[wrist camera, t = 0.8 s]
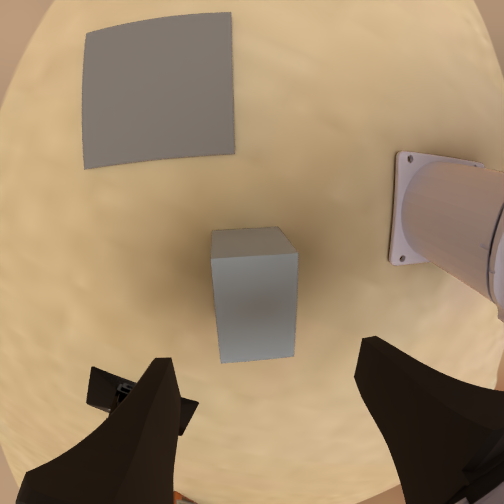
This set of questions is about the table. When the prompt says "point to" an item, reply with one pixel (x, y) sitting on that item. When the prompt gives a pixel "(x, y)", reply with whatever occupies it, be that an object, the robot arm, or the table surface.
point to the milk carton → (181, 499)
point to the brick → (254, 293)
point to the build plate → (124, 395)
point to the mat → (158, 90)
